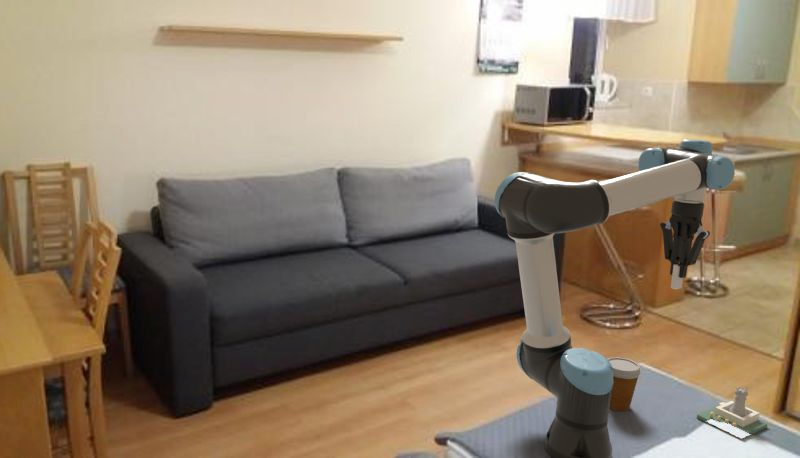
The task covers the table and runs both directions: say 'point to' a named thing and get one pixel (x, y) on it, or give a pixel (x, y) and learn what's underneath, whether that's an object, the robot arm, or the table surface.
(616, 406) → the disposable coffee cup
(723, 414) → the board
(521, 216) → the robot arm
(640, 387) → the table surface
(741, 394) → the rook chess piece
